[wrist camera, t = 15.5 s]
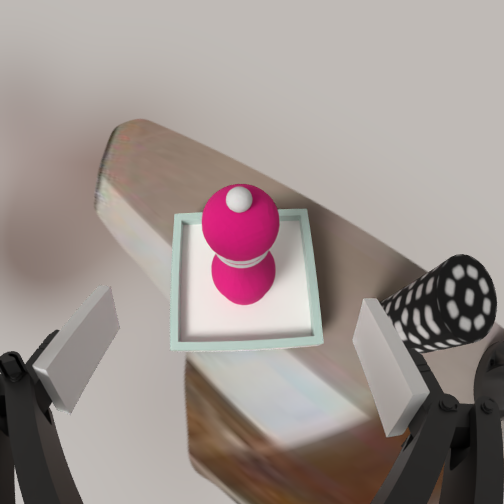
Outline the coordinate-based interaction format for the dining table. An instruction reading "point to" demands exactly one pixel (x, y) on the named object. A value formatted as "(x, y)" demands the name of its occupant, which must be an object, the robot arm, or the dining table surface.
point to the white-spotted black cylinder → (444, 306)
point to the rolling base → (244, 316)
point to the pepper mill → (241, 241)
